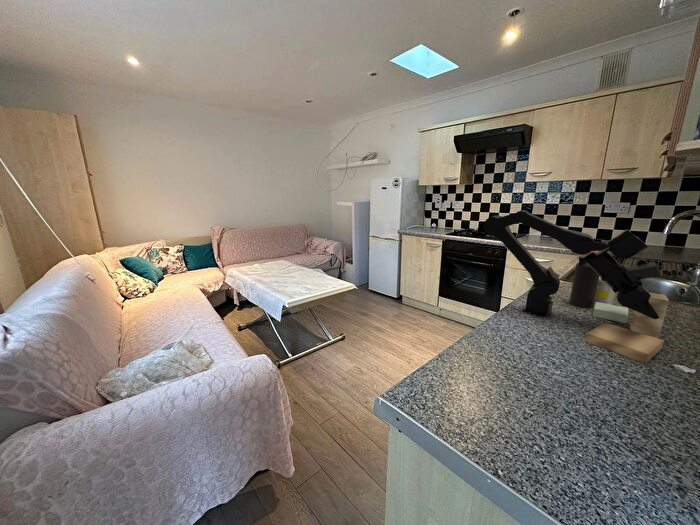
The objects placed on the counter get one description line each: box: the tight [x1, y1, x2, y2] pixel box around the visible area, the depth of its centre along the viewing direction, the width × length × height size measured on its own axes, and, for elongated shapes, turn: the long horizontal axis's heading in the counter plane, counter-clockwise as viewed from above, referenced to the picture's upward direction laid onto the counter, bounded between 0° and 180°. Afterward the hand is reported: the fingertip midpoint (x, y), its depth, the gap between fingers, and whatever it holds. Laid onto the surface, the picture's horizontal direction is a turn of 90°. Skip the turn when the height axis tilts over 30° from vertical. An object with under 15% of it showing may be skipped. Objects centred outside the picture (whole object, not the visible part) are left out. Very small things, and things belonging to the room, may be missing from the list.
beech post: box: [629, 292, 670, 339], centre depth 77 cm, size 5×5×12 cm
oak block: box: [584, 322, 665, 364], centre depth 74 cm, size 12×12×3 cm
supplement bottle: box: [594, 276, 617, 305], centre depth 100 cm, size 7×7×13 cm
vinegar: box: [569, 251, 600, 309], centre depth 98 cm, size 7×7×20 cm
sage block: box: [592, 302, 629, 324], centre depth 91 cm, size 8×8×3 cm
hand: (653, 312), depth 76 cm, fingers open, 9 cm apart
